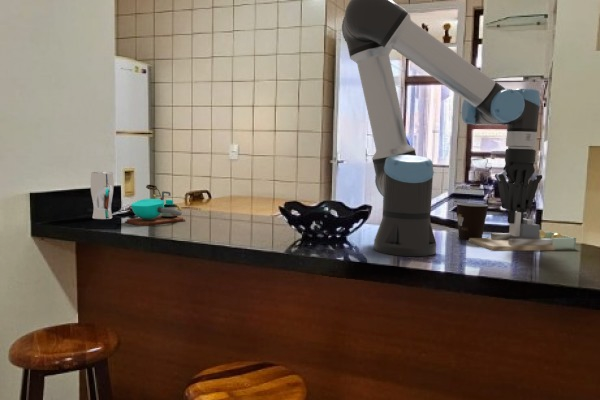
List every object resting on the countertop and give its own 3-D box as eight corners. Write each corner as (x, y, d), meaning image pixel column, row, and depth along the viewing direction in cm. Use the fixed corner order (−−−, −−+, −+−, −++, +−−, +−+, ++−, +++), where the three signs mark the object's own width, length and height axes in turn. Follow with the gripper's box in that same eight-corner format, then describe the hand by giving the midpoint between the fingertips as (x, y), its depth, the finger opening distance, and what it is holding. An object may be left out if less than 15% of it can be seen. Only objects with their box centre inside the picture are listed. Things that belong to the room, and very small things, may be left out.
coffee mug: (487, 242, 148) (490, 206, 147) (456, 240, 150) (458, 205, 149) (482, 235, 159) (484, 202, 158) (452, 233, 161) (454, 201, 160)
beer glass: (89, 220, 167) (88, 173, 165) (93, 217, 174) (92, 171, 172) (112, 220, 168) (111, 173, 167) (115, 217, 175) (114, 172, 173)
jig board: (492, 251, 135) (493, 240, 135) (468, 242, 147) (469, 232, 147) (554, 250, 139) (555, 240, 138) (526, 241, 150) (527, 232, 150)
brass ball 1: (541, 242, 146) (533, 243, 145) (536, 232, 147) (528, 233, 146) (550, 237, 144) (542, 239, 142) (544, 227, 145) (537, 228, 143)
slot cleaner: (521, 243, 140) (523, 220, 140) (509, 239, 146) (511, 217, 145) (538, 243, 141) (540, 220, 141) (526, 239, 147) (527, 217, 146)
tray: (552, 249, 140) (552, 238, 139) (528, 242, 150) (529, 232, 149) (575, 249, 141) (576, 238, 141) (550, 242, 151) (551, 231, 151)
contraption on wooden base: (195, 223, 169) (195, 176, 167) (149, 229, 154) (149, 178, 153) (166, 218, 177) (166, 173, 175) (120, 224, 163) (119, 175, 161)
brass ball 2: (562, 248, 144) (560, 243, 142) (550, 245, 146) (547, 240, 144) (566, 237, 145) (564, 232, 142) (554, 234, 147) (552, 229, 145)
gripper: (506, 147, 135) (500, 237, 138) (551, 149, 138) (544, 237, 140) (490, 147, 143) (484, 233, 145) (533, 148, 145) (527, 233, 148)
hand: (514, 235), depth 143 cm, fingers closed
